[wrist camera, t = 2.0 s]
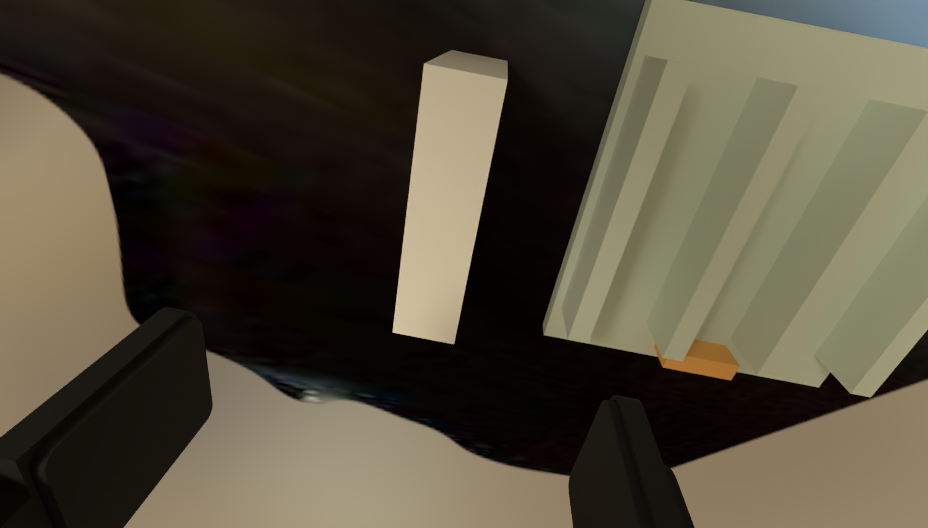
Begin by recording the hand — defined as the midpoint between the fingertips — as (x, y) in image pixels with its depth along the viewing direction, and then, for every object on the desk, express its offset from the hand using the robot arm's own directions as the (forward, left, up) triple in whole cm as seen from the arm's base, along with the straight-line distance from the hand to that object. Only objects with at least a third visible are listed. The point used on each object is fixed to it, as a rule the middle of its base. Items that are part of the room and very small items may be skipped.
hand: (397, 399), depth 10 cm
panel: (0, 0, -19) cm, 19 cm away
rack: (0, +17, -18) cm, 25 cm away
